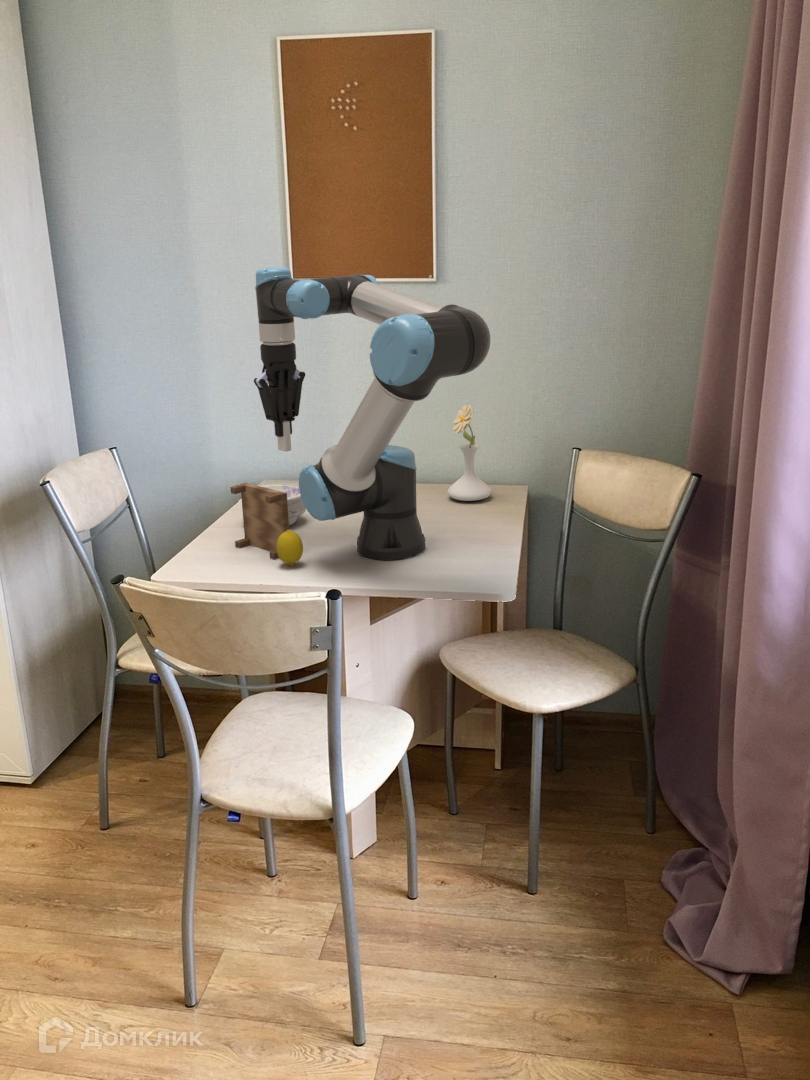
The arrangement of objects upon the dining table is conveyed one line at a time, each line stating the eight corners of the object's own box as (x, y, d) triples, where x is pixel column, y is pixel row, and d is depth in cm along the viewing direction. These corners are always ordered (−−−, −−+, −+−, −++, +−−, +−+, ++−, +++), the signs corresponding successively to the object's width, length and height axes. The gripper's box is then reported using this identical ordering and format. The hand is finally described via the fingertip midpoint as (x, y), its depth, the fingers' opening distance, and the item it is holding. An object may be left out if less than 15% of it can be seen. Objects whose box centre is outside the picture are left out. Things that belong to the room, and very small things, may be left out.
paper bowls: (318, 517, 241) (316, 486, 239) (286, 535, 228) (283, 502, 226) (265, 511, 247) (263, 480, 245) (231, 528, 234) (228, 496, 232)
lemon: (309, 564, 209) (307, 529, 206) (290, 572, 205) (287, 535, 202) (292, 559, 212) (289, 524, 210) (272, 566, 208) (269, 530, 206)
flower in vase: (447, 492, 259) (446, 398, 251) (490, 491, 258) (490, 397, 250) (447, 506, 246) (446, 408, 238) (492, 506, 246) (493, 407, 238)
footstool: (290, 554, 215) (286, 493, 211) (275, 559, 212) (270, 497, 208) (250, 541, 224) (245, 482, 220) (234, 546, 221) (229, 486, 217)
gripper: (289, 338, 217) (295, 442, 224) (242, 344, 208) (250, 453, 215) (312, 340, 212) (317, 447, 220) (265, 347, 203) (273, 458, 211)
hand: (284, 450), depth 217 cm, fingers closed
